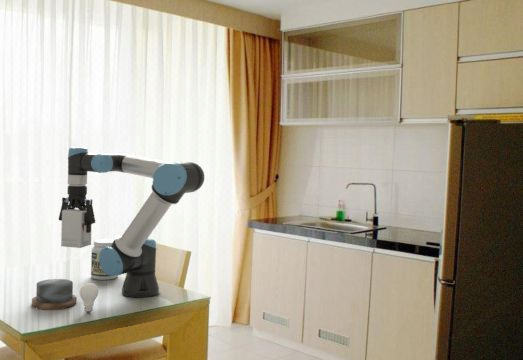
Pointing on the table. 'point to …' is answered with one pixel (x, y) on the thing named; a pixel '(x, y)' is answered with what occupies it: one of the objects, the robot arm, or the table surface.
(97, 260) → the supplement tub
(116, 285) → the table surface
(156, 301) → the table surface
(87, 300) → the light bulb
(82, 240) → the supplement box
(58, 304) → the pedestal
